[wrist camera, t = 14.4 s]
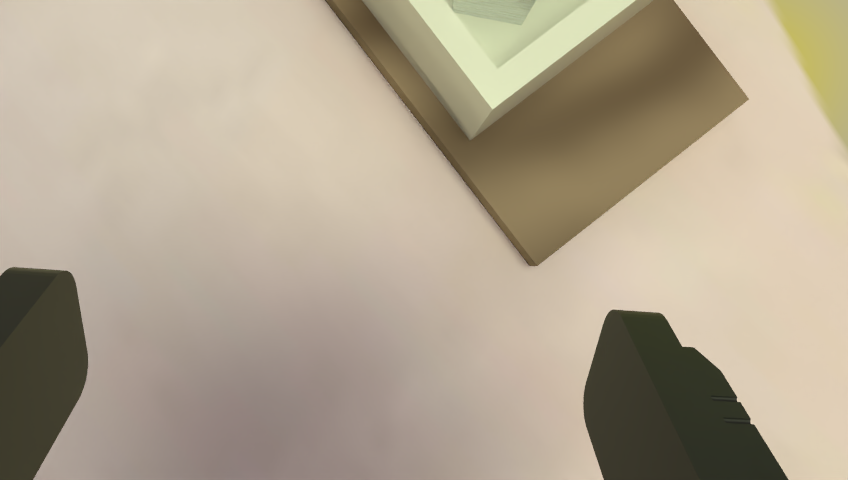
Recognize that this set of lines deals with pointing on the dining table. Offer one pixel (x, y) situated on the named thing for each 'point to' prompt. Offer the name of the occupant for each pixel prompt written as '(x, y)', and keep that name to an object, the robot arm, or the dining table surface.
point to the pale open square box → (495, 49)
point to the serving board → (573, 123)
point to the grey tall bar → (495, 9)
